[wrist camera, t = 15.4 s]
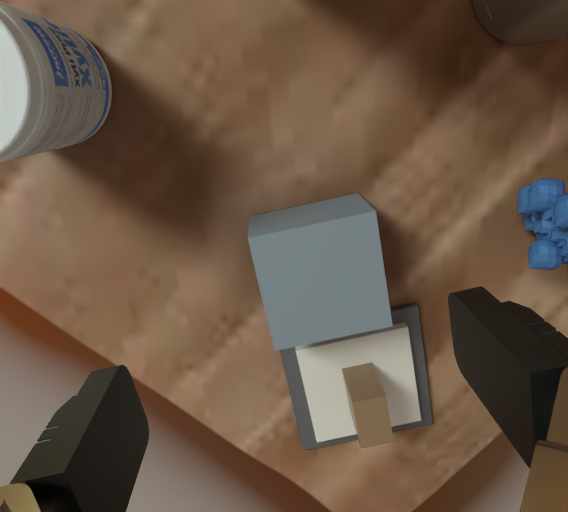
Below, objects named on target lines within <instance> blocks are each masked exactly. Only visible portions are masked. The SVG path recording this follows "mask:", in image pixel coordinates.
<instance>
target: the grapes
mask: <svg viewBox="0 0 568 512" xmlns="http://www.w3.org/2000/svg"><path fill="white" fill-rule="evenodd" d="M517 208H518V213H522V214H524V227H525V229H526V230H531V231H534V233H535V234H536V239H537V240H535V241H534V242H533V243H532V244H531V246H530V247H529V255H528V261H529V268H534V269H541V270H553V269H556V268H558V267H559V266H560V265H561V263H565V264H567V265H568V193H566V192H565V183H564V181H563V180H557V179H551V178H546V179H540V180H538V181H536V182H534V183H532V184H528V185H526V186H524V187H522V188H521V189H520V191H519V193H518V200H517Z"/></svg>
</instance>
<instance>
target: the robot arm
mask: <svg viewBox="0 0 568 512" xmlns="http://www.w3.org/2000/svg"><path fill="white" fill-rule="evenodd" d="M472 1H473V7H474V10H475V12H476V15H477V18H478V20H479V21H480V23H481V24H482V26H483V27H484V29H485V30H486V31H488V32H489V33H490V34H491V35H492V36H493V37H495V38H497V39H499V40H500V41H502V42H506V43H509V44H513V45H525V44H531V43H536V42H541V41H547V40H552V39H558V38H564V37H568V0H472ZM448 305H449V313H450V322H451V330H452V338H453V347H454V353H455V357H456V361H457V364H458V367H459V369H460V371H461V373H462V375H463V376H464V378H465V379H466V381H467V382H468V383H469V385H470V386H471V388H472V389H473V390H474V392H475V393H476V395H477V396H478V397H479V399H480V400H481V402H482V403H483V404H484V406H485V407H486V409H487V410H488V411H489V413H490V414H491V416H492V417H493V418H494V420H495V421H496V422H497V424H498V425H499V427H500V428H501V429H502V431H503V432H504V433H505V435H506V436H507V438H508V439H509V441H510V442H511V443H512V445H513V446H514V448H515V449H516V450H517V452H518V453H519V455H520V456H521V457H522V459H523V460H524V461H525V463H526V464H527V466H528V467H529V468H530V471H529V475H528V479H527V484H526V487H525V492H524V496H523V500H522V504H521V508H520V512H568V338H567V337H565V336H564V335H563V334H562V333H560V332H559V331H556V329H555V328H554V327H553V326H552V325H550V324H549V323H548V322H545V321H544V319H543V318H542V317H540V316H539V315H538V314H537V313H535V312H534V311H533V310H532V309H530V308H528V307H525V306H522V305H519V304H517V303H514V302H511V301H507V302H503V303H501V302H500V301H499V300H497V299H496V298H495V297H494V296H493V295H492V294H490V293H489V292H488V291H487V290H486V289H485V288H483V287H481V286H480V287H475V288H471V289H466V290H462V291H457V292H453V293H450V294H449V297H448ZM148 439H149V427H148V421H147V417H146V414H145V412H144V409H143V406H142V404H141V401H140V398H139V396H138V393H137V391H136V388H135V386H134V383H133V380H132V377H131V375H130V373H129V371H128V369H127V368H126V367H125V366H124V365H120V366H115V367H111V368H106V369H102V370H97V371H93V372H91V373H90V375H89V376H88V378H87V379H86V381H85V383H84V384H83V386H82V388H81V389H80V391H79V393H78V394H77V396H73V397H72V398H71V399H70V400H68V401H67V402H66V403H65V404H64V405H63V406H62V407H61V408H60V409H58V410H57V411H56V413H55V414H54V416H53V417H52V419H51V420H50V422H49V423H48V425H47V426H46V430H44V431H43V433H42V434H41V436H40V437H39V439H38V440H37V441H38V444H35V446H34V447H33V448H32V450H31V451H30V453H29V454H28V456H27V458H26V459H25V461H24V462H23V464H22V465H21V467H20V468H19V470H18V471H17V473H16V475H15V476H14V478H13V479H12V481H11V482H10V484H9V485H5V486H3V487H0V512H126V509H127V506H128V503H129V499H130V496H131V494H132V490H133V487H134V484H135V481H136V478H137V475H138V472H139V469H140V466H141V463H142V459H143V456H144V453H145V450H146V447H147V444H148Z"/></svg>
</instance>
